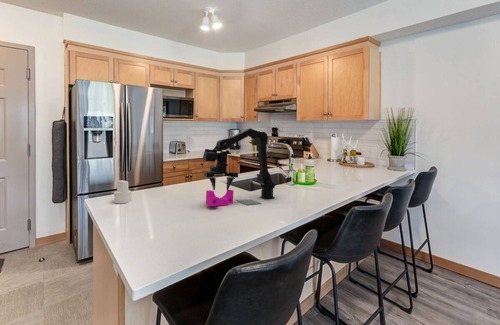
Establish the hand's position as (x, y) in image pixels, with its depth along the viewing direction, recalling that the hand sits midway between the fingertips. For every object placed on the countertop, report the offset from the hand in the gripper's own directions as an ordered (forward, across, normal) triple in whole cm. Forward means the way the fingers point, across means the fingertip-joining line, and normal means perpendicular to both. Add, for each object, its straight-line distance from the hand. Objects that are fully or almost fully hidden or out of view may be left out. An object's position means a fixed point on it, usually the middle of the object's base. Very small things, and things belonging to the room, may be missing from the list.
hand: (220, 190), depth 149 cm
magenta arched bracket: (+8, +1, +3) cm, 8 cm away
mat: (+7, -16, +2) cm, 17 cm away
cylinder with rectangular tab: (+10, +48, -30) cm, 57 cm away
